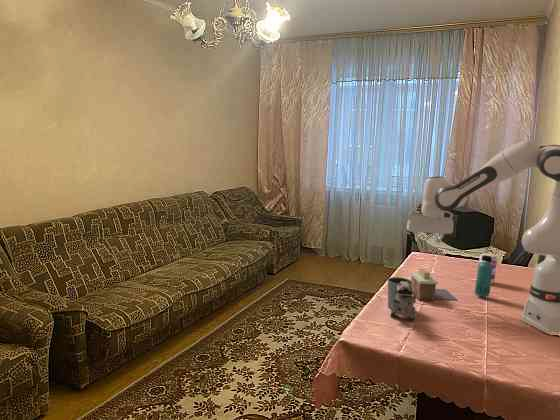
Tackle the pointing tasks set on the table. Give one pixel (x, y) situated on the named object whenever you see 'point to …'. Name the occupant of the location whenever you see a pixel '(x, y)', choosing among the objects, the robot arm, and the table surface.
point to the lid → (423, 277)
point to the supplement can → (493, 262)
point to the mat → (443, 295)
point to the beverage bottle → (484, 277)
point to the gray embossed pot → (394, 288)
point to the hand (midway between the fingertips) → (428, 242)
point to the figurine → (404, 301)
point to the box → (423, 290)
